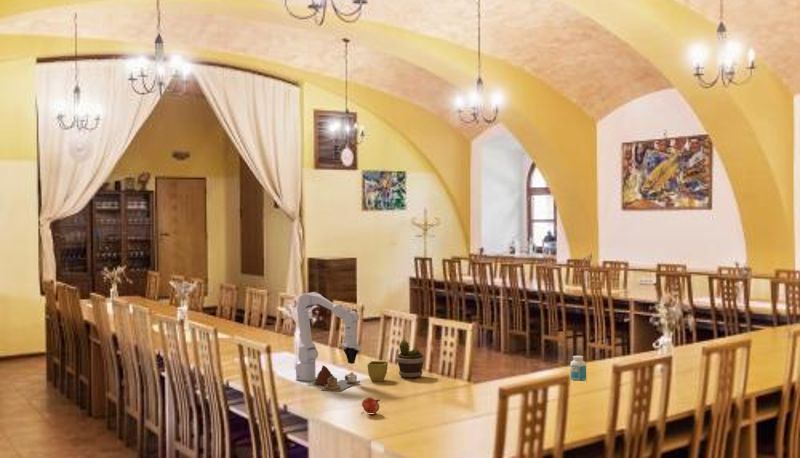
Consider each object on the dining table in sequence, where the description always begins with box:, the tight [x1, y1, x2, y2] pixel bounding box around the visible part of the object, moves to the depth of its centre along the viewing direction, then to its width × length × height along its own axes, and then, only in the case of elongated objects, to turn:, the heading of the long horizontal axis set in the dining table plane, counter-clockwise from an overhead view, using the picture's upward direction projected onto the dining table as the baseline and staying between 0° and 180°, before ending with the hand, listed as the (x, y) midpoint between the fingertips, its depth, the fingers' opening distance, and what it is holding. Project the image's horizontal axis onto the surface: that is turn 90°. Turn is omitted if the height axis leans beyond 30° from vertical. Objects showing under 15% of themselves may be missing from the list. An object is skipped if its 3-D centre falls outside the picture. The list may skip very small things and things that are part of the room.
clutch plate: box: [344, 373, 358, 381], centre depth 393 cm, size 6×6×2 cm
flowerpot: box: [395, 338, 426, 380], centre depth 407 cm, size 14×15×20 cm
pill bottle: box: [569, 355, 587, 381], centre depth 385 cm, size 8×7×14 cm
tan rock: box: [324, 375, 340, 389], centre depth 382 cm, size 7×7×6 cm
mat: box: [321, 379, 361, 393], centre depth 388 cm, size 10×24×1 cm, turn 161°
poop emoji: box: [314, 365, 334, 387], centre depth 393 cm, size 10×8×9 cm
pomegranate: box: [360, 397, 381, 416], centre depth 330 cm, size 7×7×10 cm
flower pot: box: [366, 360, 389, 382], centre depth 400 cm, size 9×9×9 cm
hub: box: [347, 371, 357, 384], centre depth 393 cm, size 5×5×5 cm
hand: (351, 363), depth 393 cm, fingers closed
